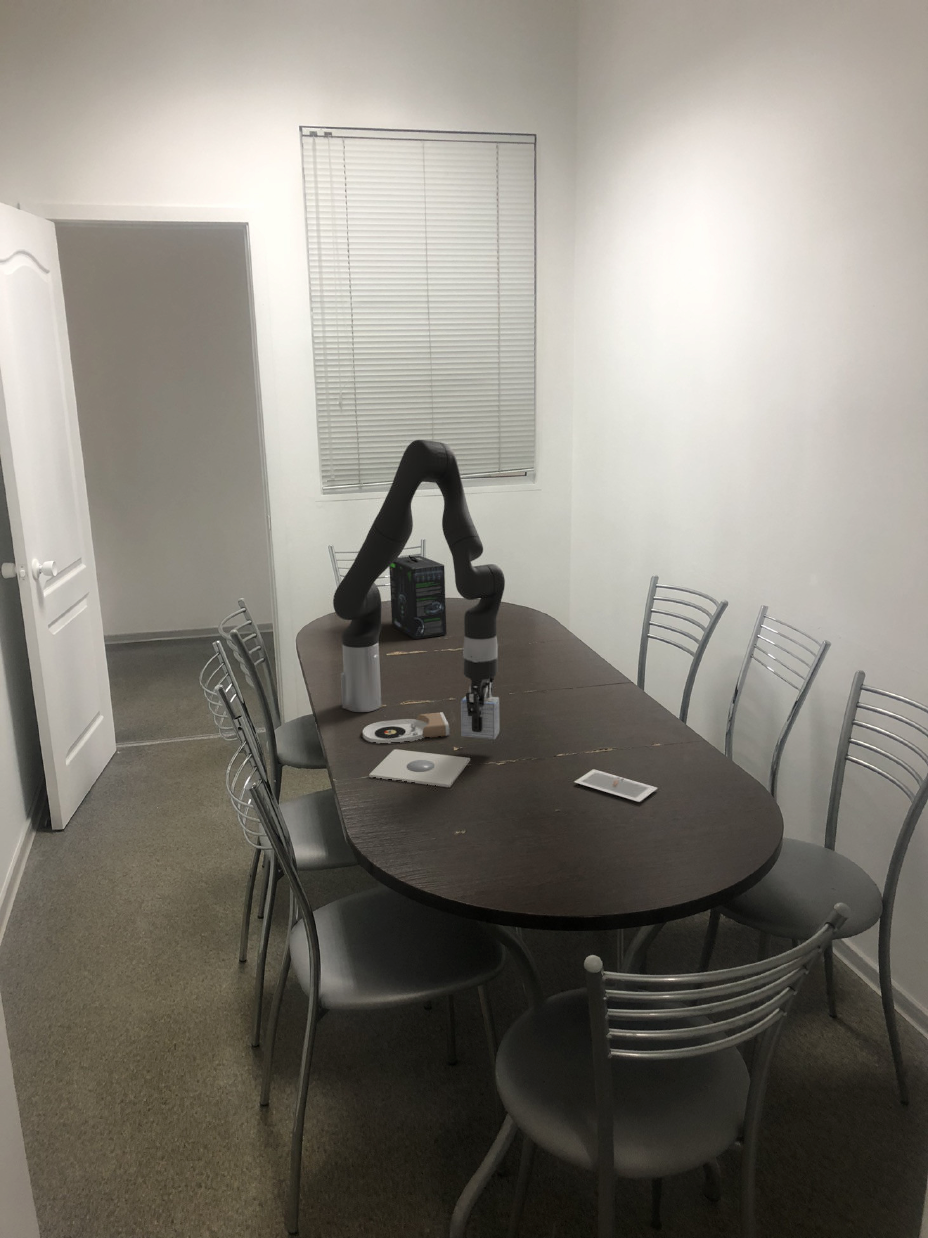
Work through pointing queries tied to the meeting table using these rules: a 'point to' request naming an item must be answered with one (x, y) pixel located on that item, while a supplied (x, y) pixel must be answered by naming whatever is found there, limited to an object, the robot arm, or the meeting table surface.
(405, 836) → the meeting table surface
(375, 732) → the record player
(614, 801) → the meeting table surface
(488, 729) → the medicine box
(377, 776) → the white pad
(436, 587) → the headset box
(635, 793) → the touchpad
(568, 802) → the meeting table surface
